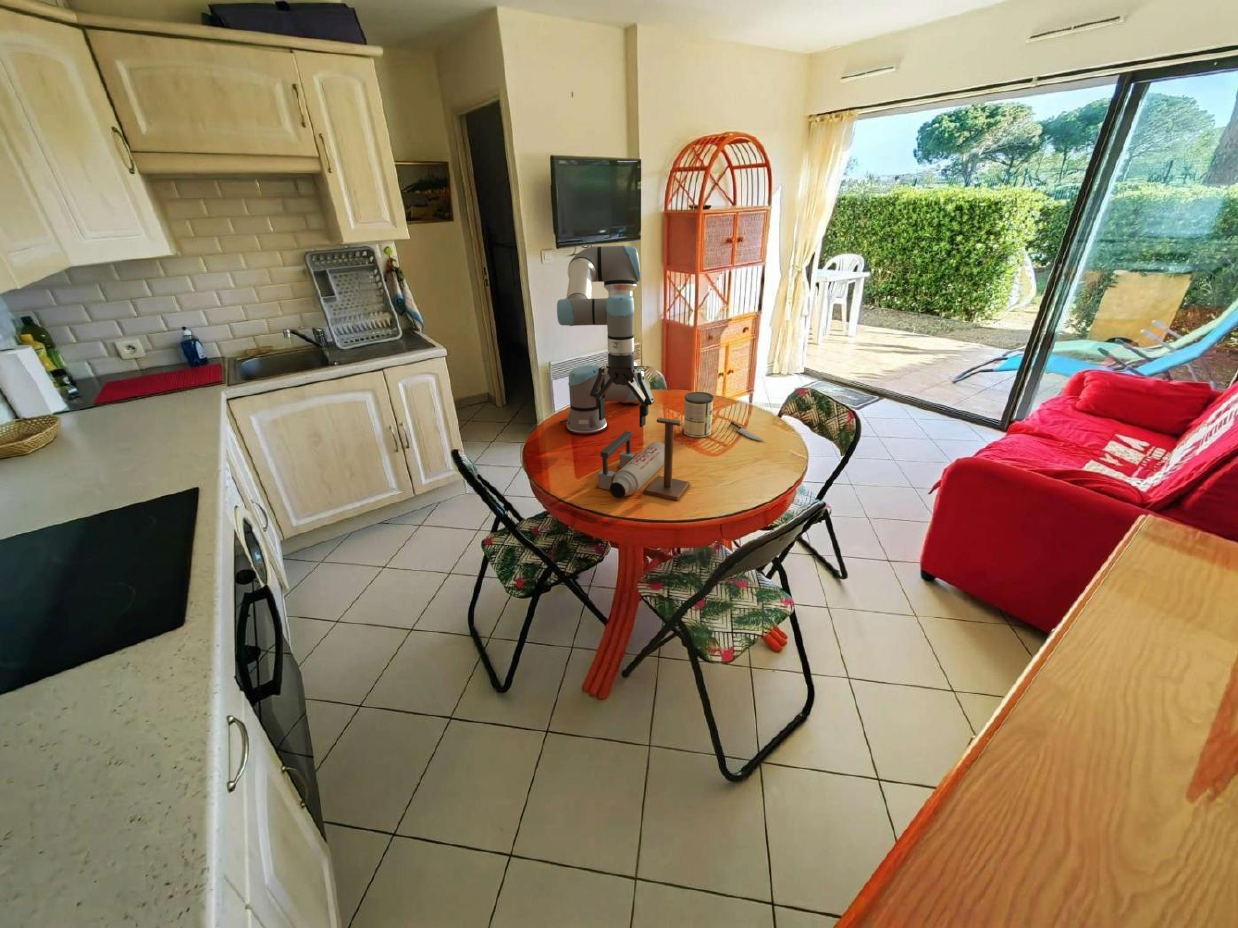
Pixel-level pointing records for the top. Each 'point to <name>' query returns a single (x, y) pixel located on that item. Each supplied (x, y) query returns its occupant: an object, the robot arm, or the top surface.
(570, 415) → the robot arm
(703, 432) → the coffee can
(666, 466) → the stand
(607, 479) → the headphones
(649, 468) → the thermos bottle
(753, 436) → the chef's knife
